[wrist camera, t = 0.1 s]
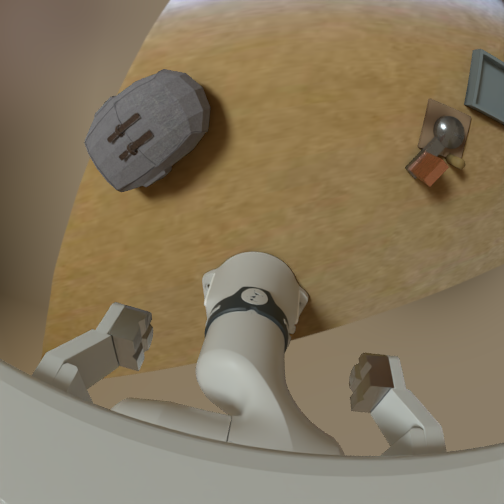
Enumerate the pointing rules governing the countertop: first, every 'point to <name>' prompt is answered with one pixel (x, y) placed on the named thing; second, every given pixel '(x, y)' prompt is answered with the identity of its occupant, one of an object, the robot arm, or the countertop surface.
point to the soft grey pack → (147, 129)
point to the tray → (486, 85)
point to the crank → (437, 150)
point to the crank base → (427, 134)
